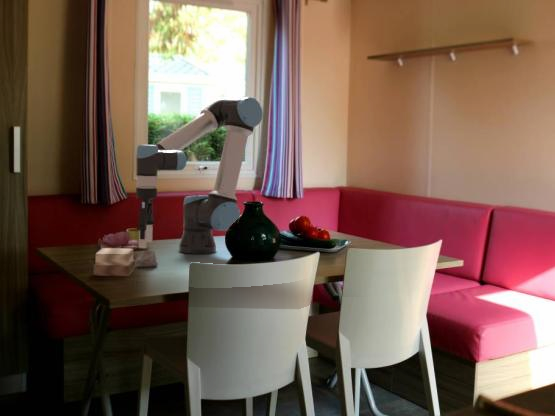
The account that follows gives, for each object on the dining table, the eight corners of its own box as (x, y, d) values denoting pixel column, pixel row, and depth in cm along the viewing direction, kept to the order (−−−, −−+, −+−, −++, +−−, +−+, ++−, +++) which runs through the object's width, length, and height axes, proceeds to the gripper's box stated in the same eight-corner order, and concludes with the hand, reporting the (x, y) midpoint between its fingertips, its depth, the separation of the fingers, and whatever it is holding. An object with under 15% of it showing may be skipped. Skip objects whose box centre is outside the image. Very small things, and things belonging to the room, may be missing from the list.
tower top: (133, 259, 260) (133, 248, 259) (128, 265, 249) (127, 254, 248) (102, 259, 259) (102, 248, 259) (95, 265, 248) (95, 253, 248)
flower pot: (130, 244, 312) (131, 227, 311) (153, 245, 310) (153, 228, 309) (122, 248, 302) (122, 230, 301) (146, 249, 300) (146, 232, 300)
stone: (133, 267, 263) (133, 251, 262) (139, 263, 273) (139, 247, 272) (156, 268, 263) (156, 252, 262) (160, 263, 273) (160, 248, 272)
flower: (145, 251, 280) (140, 226, 280) (108, 258, 272) (103, 233, 273) (133, 255, 293) (128, 231, 293) (98, 263, 285) (92, 238, 286)
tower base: (134, 270, 260) (134, 259, 260) (128, 277, 248) (128, 266, 248) (101, 269, 260) (101, 258, 260) (93, 277, 248) (93, 265, 248)
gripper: (141, 184, 276) (141, 239, 279) (130, 189, 251) (129, 250, 254) (161, 184, 276) (160, 240, 279) (151, 190, 252) (150, 251, 254)
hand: (145, 245), depth 266 cm, fingers open, 13 cm apart
